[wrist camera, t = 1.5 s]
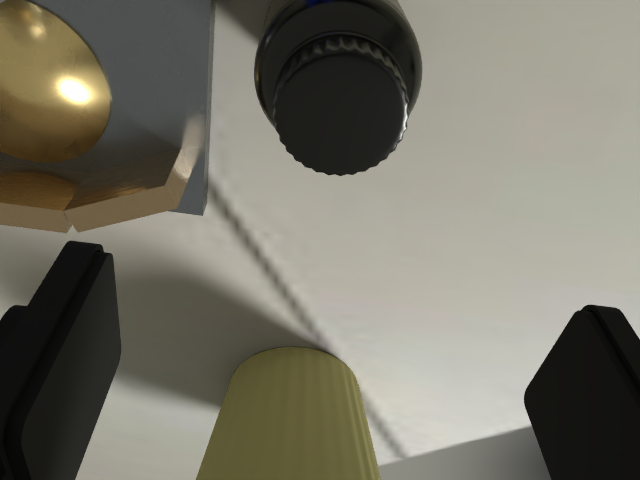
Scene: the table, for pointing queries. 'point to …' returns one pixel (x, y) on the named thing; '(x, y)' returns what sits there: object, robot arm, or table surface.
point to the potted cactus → (291, 421)
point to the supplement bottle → (338, 80)
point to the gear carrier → (103, 110)
